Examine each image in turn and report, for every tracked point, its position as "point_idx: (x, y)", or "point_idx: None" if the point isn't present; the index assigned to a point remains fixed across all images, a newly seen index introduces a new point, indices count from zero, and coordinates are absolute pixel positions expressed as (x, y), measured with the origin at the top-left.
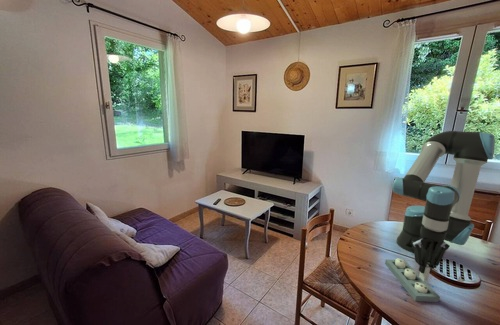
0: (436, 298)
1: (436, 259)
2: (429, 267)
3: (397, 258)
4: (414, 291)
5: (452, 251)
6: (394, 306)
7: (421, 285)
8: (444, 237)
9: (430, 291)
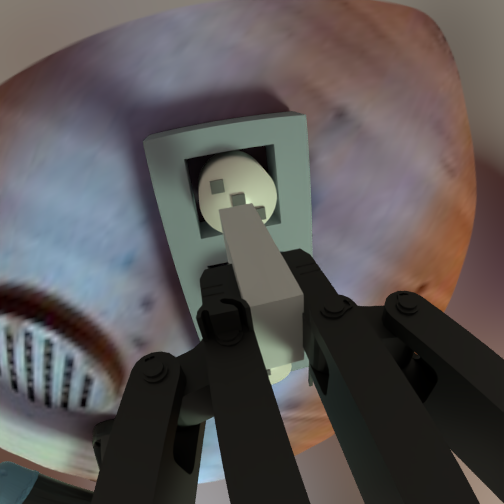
0: (164, 134)
1: (172, 458)
2: (257, 309)
3: (272, 383)
4: (296, 153)
5: (36, 427)
6: (407, 73)
7: (237, 203)
8: None
9: (183, 177)
